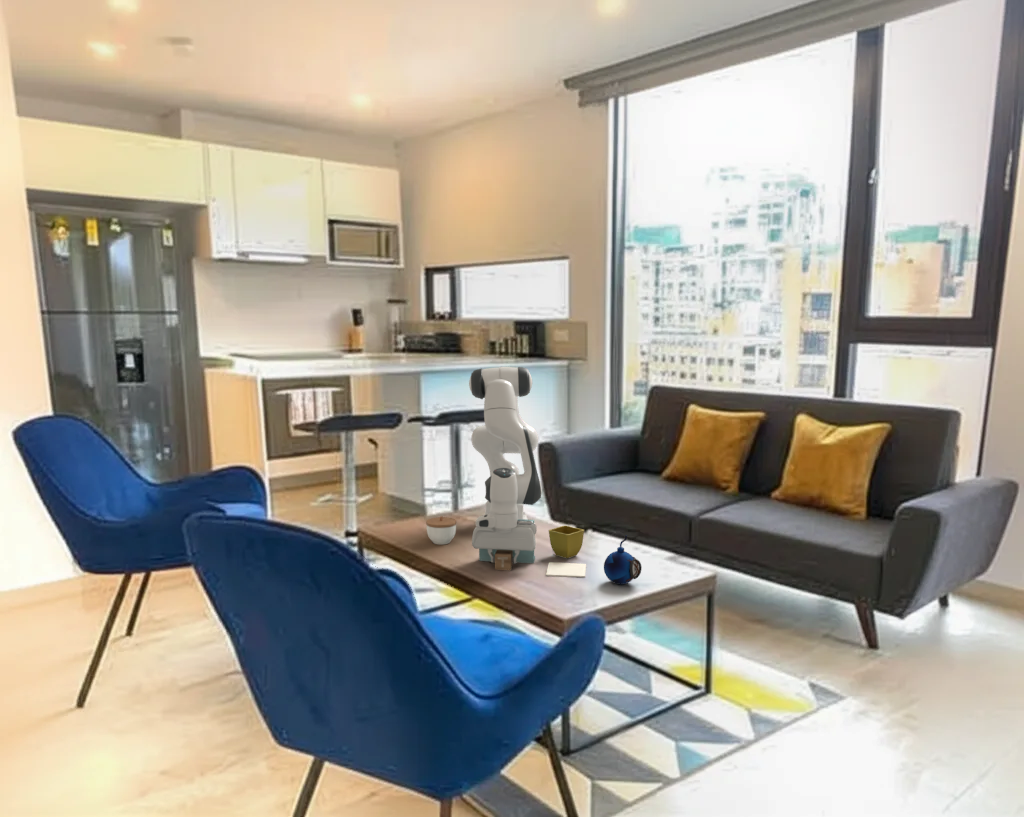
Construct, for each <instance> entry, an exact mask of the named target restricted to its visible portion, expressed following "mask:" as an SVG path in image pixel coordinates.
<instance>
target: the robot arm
mask: <svg viewBox="0 0 1024 817" xmlns="http://www.w3.org/2000/svg"><path fill="white" fill-rule="evenodd" d="M468 386H469V390H470V392H471V395H472V396H473V397H475V398H477V399H480V400H483V399H484V403H483V418H484V419H483V420H484V425H480V426H476V427H475V428H474V430H473V431H472V433H471V445H472V447H473V449H474V450H475V451H476V452H477V453H479V454H480V455H481V456H482V457H483V459H484V460H485V461H486V463H487V466H488V469H489V477H488V478H487V479H486V480H485V481H484V486H485V497H484V498H485V499H486V502H485V507H484V508H485V509H484V510H485V511H484V514H482V515H480V516H478V517H477V519H475V527H474V529H473V532H472V538H471V546H472V547H473V549H478V550H479V549H488V553H489V555H490V557H491V561H490V562H491V564H492V563H494V564H495V556H494V555H493V553H492V551H493V549H499V550H515V553H516V555H515V557H512V558H511V563H513V564H517V562H516V558H517V556H518V555H519V553H520V550H524V551H533V550H534V551H535V549H536V544H537V543H536V534H537V530H538V529H537V524H536V523H535V522H534V523H533V522H532V521H518V519H526V520H529V519H528V516H527V513H526V512H525V511H524V505H525V506H527V505H528V506H532V505H535V504H536V503H537V502H539V500H540V499H541V498H542V492H543V491H542V490H543V489H542V483H541V480H540V477H539V473H538V470H537V469H538V468H537V465H536V459H535V456H534V451H535V449H536V448H537V447H538V444H539V434H538V432H537V430H536V428H534V427H533V426H531V425H530V424H528V423H527V422H525V421H524V419H523V418H522V417H521V414H520V410H519V404H518V403H519V402H518V397H519V398H523V397H526V396H528V395H529V394H530V392H531V390H532V387H533V378H532V375H531V373H530V370H529V369H528V368H526V367H523V366H518V367H516V366H515V367H514V366H499V367H489V368H477V369H475V370H473V371H472V372H471V374H470V377H469V381H468ZM504 454H518V455H519V454H520V457H521V462H522V467H523V471H524V472H523V473H521V474H520V471H519V468H518V466H517V465H515V463H512V462H511V461H509V460H507V459H506V458H505V457H504Z"/></svg>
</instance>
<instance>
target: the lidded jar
mask: <svg viewBox="0 0 1024 817" xmlns="http://www.w3.org/2000/svg"><path fill="white" fill-rule="evenodd" d="M425 523H426V533H427V536H428V538H429V539H430V541H431V542H432V543H433V544H434V545H447V544H450V543H451V541H452V540H453V539H454V537H455V536H456V533H457V519H455V518H452V517H447V516H446V517H445V516H443V515H440V516H438V517H432V518H429V519H426V521H425Z"/></svg>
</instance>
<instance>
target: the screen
mask: <svg viewBox="0 0 1024 817" xmlns="http://www.w3.org/2000/svg"><path fill="white" fill-rule="evenodd" d="M518 521H532V522H533V523H534V524H535V519H528V520H526V519H518ZM497 550H499V549H493V551H492V553H493V555H494V556H495V553H496V551H497ZM515 555H516V553H515V550H513V557H515ZM478 561H480V562H491V557H490V555H489V553H488V549H478ZM535 561H536V555H535V549H534V550H533V551H524V550H520V553H519V555H518V556H517V558H516V563H520V564H521V563H522V564H523V563H525V564H534V563H535Z"/></svg>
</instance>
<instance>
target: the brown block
mask: <svg viewBox="0 0 1024 817" xmlns="http://www.w3.org/2000/svg"><path fill="white" fill-rule="evenodd" d="M512 557H513V550H497V551H496V553H495V563H494V570H495V571H511V570H512V569H513V564H514V563H511V558H512Z"/></svg>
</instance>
